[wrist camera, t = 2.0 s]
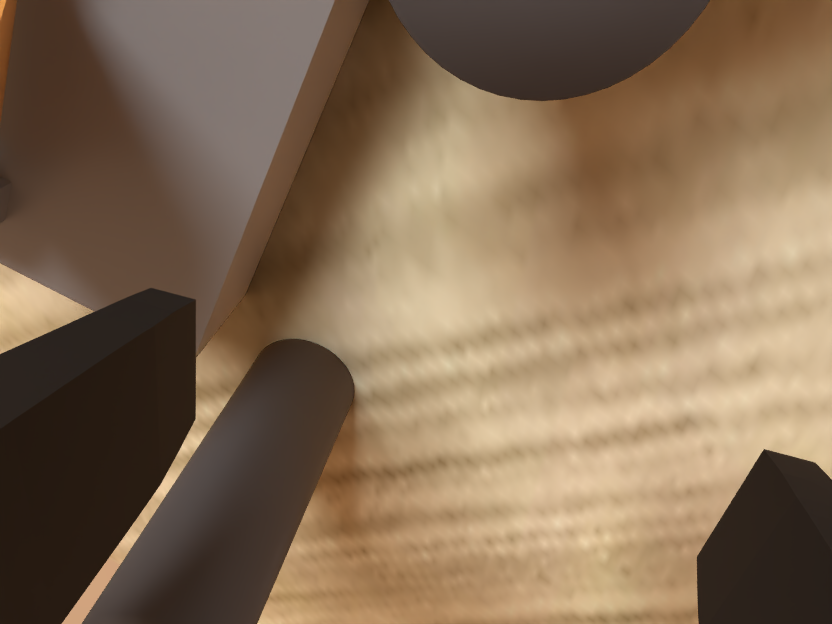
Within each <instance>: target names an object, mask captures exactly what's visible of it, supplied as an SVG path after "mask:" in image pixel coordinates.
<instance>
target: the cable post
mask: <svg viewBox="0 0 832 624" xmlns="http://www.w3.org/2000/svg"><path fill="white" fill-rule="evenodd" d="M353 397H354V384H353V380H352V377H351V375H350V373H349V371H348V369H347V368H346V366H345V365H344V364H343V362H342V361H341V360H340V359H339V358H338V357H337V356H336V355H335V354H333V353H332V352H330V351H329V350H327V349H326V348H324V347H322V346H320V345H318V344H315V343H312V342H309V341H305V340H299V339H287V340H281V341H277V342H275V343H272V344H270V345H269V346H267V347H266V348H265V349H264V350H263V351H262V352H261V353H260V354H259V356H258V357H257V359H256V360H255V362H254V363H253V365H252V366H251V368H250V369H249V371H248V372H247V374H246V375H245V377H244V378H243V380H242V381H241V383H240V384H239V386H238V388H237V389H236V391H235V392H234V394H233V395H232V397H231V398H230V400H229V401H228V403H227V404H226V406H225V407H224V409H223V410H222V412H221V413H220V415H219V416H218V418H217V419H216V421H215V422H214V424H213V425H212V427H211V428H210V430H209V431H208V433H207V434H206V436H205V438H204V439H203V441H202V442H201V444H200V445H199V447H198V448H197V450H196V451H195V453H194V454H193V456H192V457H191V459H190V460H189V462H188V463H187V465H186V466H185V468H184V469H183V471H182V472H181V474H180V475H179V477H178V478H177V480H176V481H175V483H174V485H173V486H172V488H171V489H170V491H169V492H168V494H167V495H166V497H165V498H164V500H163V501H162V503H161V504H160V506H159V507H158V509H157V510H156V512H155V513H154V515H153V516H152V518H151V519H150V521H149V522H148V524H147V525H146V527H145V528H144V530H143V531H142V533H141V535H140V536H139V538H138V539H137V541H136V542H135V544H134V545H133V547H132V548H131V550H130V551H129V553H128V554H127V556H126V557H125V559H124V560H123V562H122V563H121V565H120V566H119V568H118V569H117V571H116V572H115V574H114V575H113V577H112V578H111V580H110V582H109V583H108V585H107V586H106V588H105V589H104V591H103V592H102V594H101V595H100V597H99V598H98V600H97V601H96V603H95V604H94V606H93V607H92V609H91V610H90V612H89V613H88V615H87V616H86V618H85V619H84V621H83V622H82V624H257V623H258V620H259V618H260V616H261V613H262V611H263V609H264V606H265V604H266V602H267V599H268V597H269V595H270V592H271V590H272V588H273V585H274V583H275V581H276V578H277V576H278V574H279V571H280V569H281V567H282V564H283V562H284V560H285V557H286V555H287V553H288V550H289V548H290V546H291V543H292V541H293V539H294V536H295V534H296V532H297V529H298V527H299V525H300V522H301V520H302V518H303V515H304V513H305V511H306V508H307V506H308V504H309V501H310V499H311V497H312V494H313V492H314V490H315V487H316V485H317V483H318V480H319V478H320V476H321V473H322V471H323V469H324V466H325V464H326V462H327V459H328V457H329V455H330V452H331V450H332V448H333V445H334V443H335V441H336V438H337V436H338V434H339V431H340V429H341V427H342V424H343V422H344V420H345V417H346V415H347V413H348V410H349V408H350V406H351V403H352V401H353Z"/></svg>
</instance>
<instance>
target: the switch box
mask: <svg viewBox="0 0 832 624" xmlns="http://www.w3.org/2000/svg"><path fill="white" fill-rule="evenodd" d="M368 2H369V0H17V4H16V12H15V19H14V26H13V34H12V41H11V48H10V56H9V63H8V70H7V78H6V85H5V92H4V100H3V107H2V114H1V122H0V263H1V264H3V265H5V266H7V267H9V268H11V269H13V270H15V271H17V272H19V273H21V274H23V275H24V276H26V277H28V278H30V279H32V280H34V281H36V282H38V283H40V284H42V285H44V286H46V287H48V288H50V289H52V290H54V291H56V292H58V293H60V294H62V295H64V296H66V297H67V298H69V299H71V300H73V301H75V302H77V303H79V304H81V305H83V306H85V307H87V308H89V309H91V310H93V311H97V310H100V309H102V308H104V307H106V306H108V305H111V304H113V303H115V302H117V301H120V300H122V299H124V298H126V297H129V296H131V295H134V294H136V293H139V292H141V291H144V290H146V289H149V288H154V289H158V290H162V291H166V292H169V293H173V294H177V295H181V296H185V297H188V298H192V299H196V357H197V356H198V354H199V353H200V352H201V351H202V349H203V348H204V347H205V346H206V344H207V343H208V342H209V340H210V339H211V338H212V337H213V335H214V334H215V333H216V332H217V330H218V329H219V328H220V326H221V325H222V324H223V323H224V321H225V320H226V319H227V318H228V316H229V315H230V314H231V312H232V311H233V310H234V309H235V307H236V306H237V305H238V304H239V302H240V301H241V300H242V298H243V297H244V296H245V294H246V292H247V290H248V287H249V285H250V283H251V280H252V278H253V275H254V273H255V271H256V268H257V266H258V264H259V261H260V259H261V256H262V254H263V252H264V249H265V247H266V245H267V242H268V240H269V237H270V235H271V233H272V230H273V228H274V226H275V223H276V221H277V218H278V216H279V214H280V211H281V209H282V207H283V204H284V202H285V199H286V197H287V195H288V192H289V190H290V187H291V185H292V183H293V180H294V178H295V176H296V173H297V171H298V168H299V166H300V164H301V161H302V159H303V157H304V154H305V152H306V149H307V147H308V145H309V142H310V140H311V138H312V135H313V133H314V130H315V128H316V126H317V123H318V121H319V119H320V116H321V114H322V111H323V109H324V107H325V104H326V102H327V100H328V97H329V95H330V92H331V90H332V88H333V85H334V83H335V81H336V78H337V76H338V73H339V71H340V69H341V66H342V64H343V62H344V59H345V57H346V54H347V52H348V50H349V47H350V45H351V42H352V40H353V38H354V35H355V33H356V31H357V28H358V26H359V23H360V21H361V19H362V16H363V14H364V12H365V9H366V7H367V4H368Z"/></svg>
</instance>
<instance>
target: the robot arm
mask: <svg viewBox="0 0 832 624" xmlns="http://www.w3.org/2000/svg"><path fill="white" fill-rule="evenodd" d="M195 412H196V299H192V298H188V297H185V296H181V295H177V294H173V293H169V292H166V291H162V290H158V289H154V288H149V289H146V290H144V291H141V292H139V293H136V294H134V295H131V296H129V297H126V298H124V299H122V300H120V301H117V302H115V303H113V304H111V305H108V306H106V307H104V308H102V309H100V310H97V311H95V312H93V313H91V314H89V315H86V316H84V317H82V318H80V319H78V320H75V321H73V322H71V323H69V324H67V325H65V326H62V327H60V328H58V329H56V330H53V331H51V332H49V333H47V334H44V335H42V336H40V337H38V338H35V339H33V340H31V341H29V342H26V343H24V344H22V345H20V346H18V347H15V348H13V349H11V350H9V351H6V352H4V353H2V354H0V624H61V623H62V622H63V621H64V620H65V618H66V617H67V615H68V614H69V612H70V611H71V610H72V608H73V607H74V605H75V604H76V603H77V601H78V600H79V599H80V597H81V596H82V594H83V593H84V592H85V590H86V589H87V587H88V586H89V585H90V583H91V582H92V580H93V579H94V577H95V576H96V575H97V573H98V572H99V571H100V569H101V568H102V566H103V565H104V564H105V562H106V561H107V559H108V558H109V557H110V555H111V554H112V553H113V551H114V550H115V548H116V547H117V546H118V544H119V543H120V541H121V540H122V539H123V537H124V536H125V534H126V533H127V532H128V530H129V529H130V527H131V526H132V524H133V523H134V522H135V520H136V519H137V517H138V516H139V515H140V513H141V512H142V510H143V509H144V507H145V506H146V505H147V503H148V502H149V500H150V499H151V497H152V496H153V494H154V493H155V492H156V490H157V489H158V487H159V486H160V484H161V483H162V481H163V479H164V477H165V475H166V473H167V472H168V470H169V468H170V466H171V464H172V463H173V461H174V459H175V457H176V455H177V453H178V452H179V450H180V448H181V446H182V444H183V442H184V440H185V438H186V436H187V434H188V432H189V430H190V428H191V426H192V425H193V423H194V421H195ZM697 590H698V618H699V624H832V480H831V479H830V477H829V476H828V475H827V474H826V473H825V472H824V471H823V470H822V469H821V468H820V467H819V466H818V465H817V464H816V463H814V462H811V461H807V460H803V459H799V458H796V457H792V456H788V455H784V454H780V453H777V452H773V451H769V450H765V449H764V450H763V452H762V453H761V455H760V456H759V458H758V460H757V461H756V463H755V464H754V466H753V468H752V469H751V471H750V473H749V474H748V476H747V477H746V479H745V481H744V482H743V484H742V485H741V487H740V489H739V490H738V492H737V493H736V495H735V497H734V498H733V500H732V501H731V503H730V505H729V506H728V508H727V509H726V511H725V513H724V514H723V516H722V518H721V519H720V521H719V522H718V524H717V526H716V527H715V529H714V530H713V532H712V534H711V535H710V537H709V538H708V540H707V542H706V543H705V545H704V546H703V548H702V550H701V551H700V553H699V554H698V556H697Z"/></svg>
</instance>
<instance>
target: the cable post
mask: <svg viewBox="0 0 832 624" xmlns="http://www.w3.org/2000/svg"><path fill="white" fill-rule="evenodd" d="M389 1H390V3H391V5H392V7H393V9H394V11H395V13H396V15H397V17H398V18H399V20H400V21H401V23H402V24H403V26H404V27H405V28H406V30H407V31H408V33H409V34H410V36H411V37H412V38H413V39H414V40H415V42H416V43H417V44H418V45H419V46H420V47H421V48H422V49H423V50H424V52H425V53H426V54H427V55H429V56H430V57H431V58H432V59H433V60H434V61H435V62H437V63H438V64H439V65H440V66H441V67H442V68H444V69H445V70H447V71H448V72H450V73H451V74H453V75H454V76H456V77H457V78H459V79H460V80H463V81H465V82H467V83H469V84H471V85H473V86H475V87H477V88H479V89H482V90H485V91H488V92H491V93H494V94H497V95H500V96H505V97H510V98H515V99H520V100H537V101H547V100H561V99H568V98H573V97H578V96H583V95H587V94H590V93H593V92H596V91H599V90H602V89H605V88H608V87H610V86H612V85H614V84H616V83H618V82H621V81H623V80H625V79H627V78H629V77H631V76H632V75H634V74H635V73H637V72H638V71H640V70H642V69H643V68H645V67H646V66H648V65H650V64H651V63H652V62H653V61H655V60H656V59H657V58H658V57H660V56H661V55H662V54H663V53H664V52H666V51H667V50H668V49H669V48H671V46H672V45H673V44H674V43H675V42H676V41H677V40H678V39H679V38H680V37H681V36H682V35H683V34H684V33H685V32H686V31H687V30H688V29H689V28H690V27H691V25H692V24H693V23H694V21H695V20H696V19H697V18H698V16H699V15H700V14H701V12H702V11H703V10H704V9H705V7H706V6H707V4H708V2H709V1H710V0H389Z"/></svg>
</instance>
